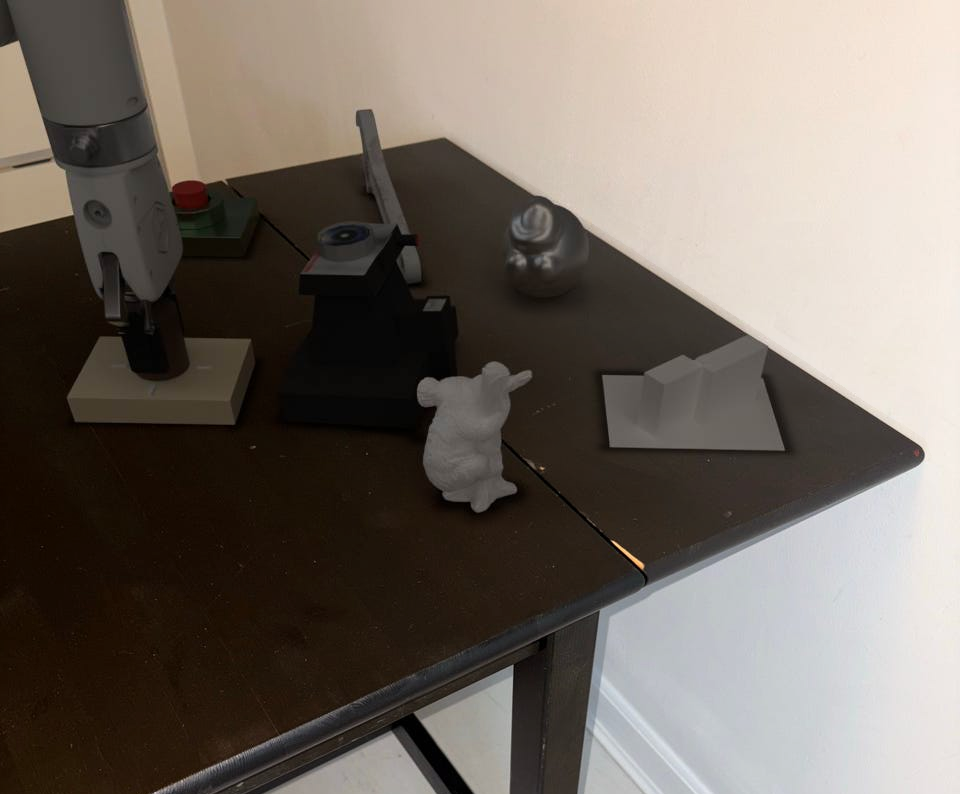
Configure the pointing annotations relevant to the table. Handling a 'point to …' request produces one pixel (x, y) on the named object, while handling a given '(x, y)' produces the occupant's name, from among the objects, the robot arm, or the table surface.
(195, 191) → the button
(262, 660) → the table surface
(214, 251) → the button block
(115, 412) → the panel
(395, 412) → the camera
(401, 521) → the table surface
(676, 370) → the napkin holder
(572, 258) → the dark grey rounded lump
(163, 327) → the dial
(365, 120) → the wrench
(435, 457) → the animal figurine
